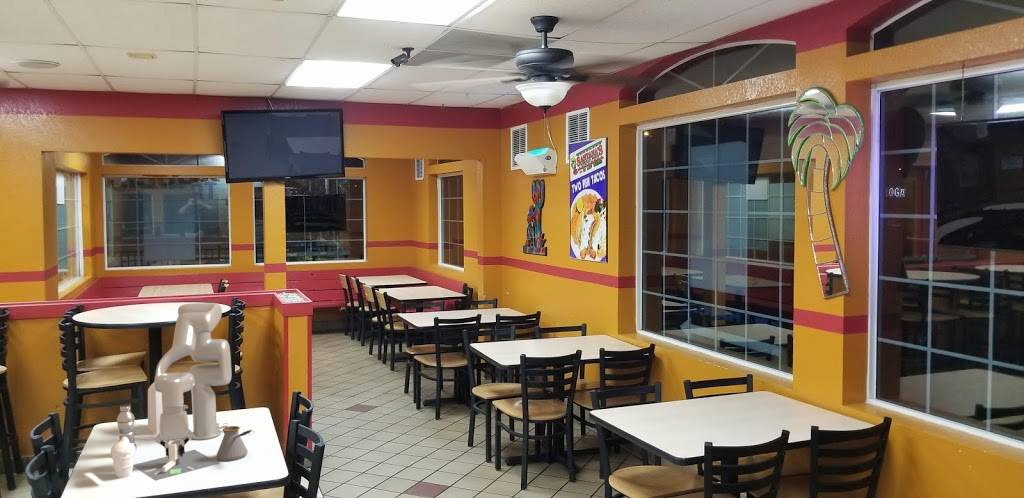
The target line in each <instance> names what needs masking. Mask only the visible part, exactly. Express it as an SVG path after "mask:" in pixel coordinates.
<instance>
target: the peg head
mask: <svg viewBox="0 0 1024 498" xmlns="http://www.w3.org/2000/svg"><path fill="white" fill-rule="evenodd" d="M180 445H181V441H180V439H174V440H172V442H170V443H169V444H168V448H169V461H170V462H168V463H167V464H166V465H164V466H163V472H166V471H168V470H169V469H170V468H171V467H173V466H174V465H175V464H179V457H180V456H181V455H180Z"/></svg>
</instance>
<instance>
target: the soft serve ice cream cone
mask: <svg viewBox="0 0 1024 498" xmlns="http://www.w3.org/2000/svg"><path fill="white" fill-rule="evenodd" d="M135 450H136V451H137V447H136V448H135V446H134V445H133V444H131V443H130V442H129V439H128V438H127V437H123V438H122V439H121V440H120V441H119V440H118V441H117V443H116V444H114V445H113V446H112V447H111V448H110V452H109V453H110V455H111V456H112V460H113V461H112V462H113V468H114V471H115V474H116V478H117V479H126V478H129V477H131V476H133V475H132V474H133V470H134V469H133V468H134V466H133V465H134V464H135V463H134V459H135V458H134V456H135V452H136V451H135Z"/></svg>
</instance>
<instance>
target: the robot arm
mask: <svg viewBox="0 0 1024 498" xmlns="http://www.w3.org/2000/svg"><path fill="white" fill-rule="evenodd" d="M222 313H223V310H222V307H221V305H220V304H219V303H217V302H203V303H200V302H198V303H197V302H196V303H195V302H194V303H185V304H181V305H180V306H179V307H178V309H177V314H178V316H177V318H176V321H175V328H174V334H173V341H172V346H171V348H170V349H169V350H168V351H167V352H166V353H165V354H164V355H163V356H162V358H161V359H160V360H159V361H158V363H157V366H156V369H155V376H154V381H153V383H154V385H155V389H156V390H157V391H158V392H161V393H162V412H163V413H161V415H160V432H159V434H158V435H156V437H155V439H154V442H155V443H157V444H160V445H161V446H163V448H164V449H165V457H167V456H168V458H169V448H168V445H169V444H170V441H171V440H172V441H175V440H180V441H181V445H180V455H181V457H183V454H185V452H186V451H185V445H186V444H187V443H188V442H189V441H191V440H196V441H197V440H198V441H199V440H200V441H201V440H209V439H213V438H217V437H218V436H220V435H221V434H222V432H221V429H223V428H226V427H229V424H228V423H227V422H224V423H222V422H220V423H218V421H217V405H216V403H217V402H216V393H215V392H214V390H213V389H212V386H215V387H216V386H226V385H229V384H230V382H231V380H232V377H233V376H232V375H233V374H232V373H233V372H232V358H231V348H230V344H229V341H227V339H224V338H217V339H216V338H212V337H211V336H212V334H211V332H213V331H214V330H215V328H216V327H217V325H218V324H219V322H220V321H221V318H222ZM187 356H191V359H192V361H194V362H199V363H200V362H201V363H200V364H195V365H193V366H191V367H190V368H189V370H188V372H167V370H168V368H169V367H170V366H171V365H172V364H173V363H175V362H176V361H178V360H181V359H183V358H185V357H187ZM202 362H203V363H202ZM205 362H217V363H205ZM189 391H191V392H190V393H191V407H192V410H191V411H192V426H193V428H192V429H193V432H192V430H190V427H189V417H188V413H187V411H186V410H187V409H189V405H188V404H185V403H184V402H185V401H184V393H187V392H189Z"/></svg>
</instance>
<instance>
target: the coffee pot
mask: <svg viewBox="0 0 1024 498" xmlns="http://www.w3.org/2000/svg"><path fill="white" fill-rule="evenodd" d="M240 429H241V427H240V426H238V425H231V426H228V427H226V428H222V433H224V435H223V437H222V439H221V442H220V446H219V448H218V450H217V452H216V457H217V459H218V460H219V461H221V462H232V461H237V460H241V459H244V458H245V457H246V456H247V455H248V449H247V447H246V445H245V443H244V441H243V439H242V436H243V437H244V436H247V435H250V433H251V432H253V433H255V431H254V430H253V429H252V430H251V429H249V430H246V431H243V432H242V433H239V430H240Z"/></svg>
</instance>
